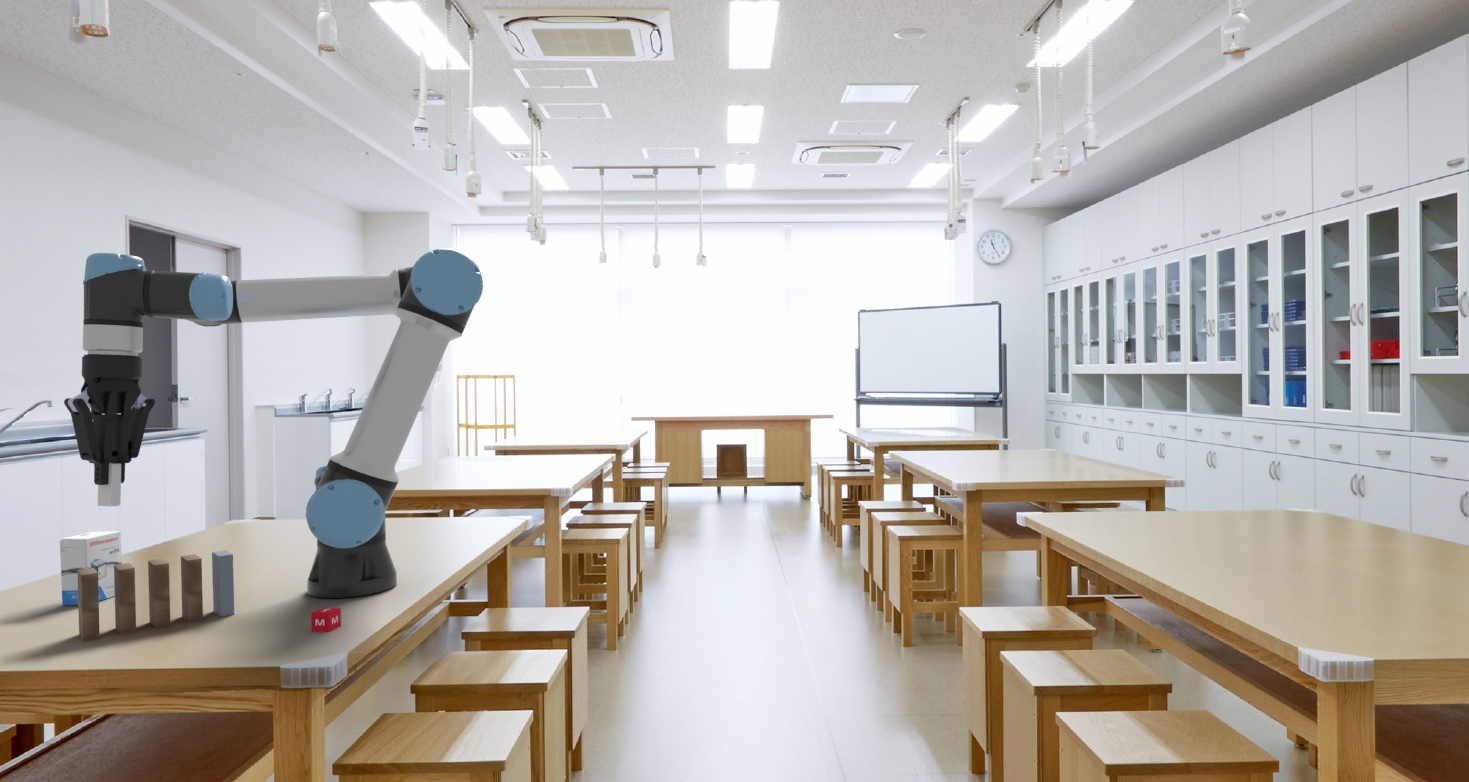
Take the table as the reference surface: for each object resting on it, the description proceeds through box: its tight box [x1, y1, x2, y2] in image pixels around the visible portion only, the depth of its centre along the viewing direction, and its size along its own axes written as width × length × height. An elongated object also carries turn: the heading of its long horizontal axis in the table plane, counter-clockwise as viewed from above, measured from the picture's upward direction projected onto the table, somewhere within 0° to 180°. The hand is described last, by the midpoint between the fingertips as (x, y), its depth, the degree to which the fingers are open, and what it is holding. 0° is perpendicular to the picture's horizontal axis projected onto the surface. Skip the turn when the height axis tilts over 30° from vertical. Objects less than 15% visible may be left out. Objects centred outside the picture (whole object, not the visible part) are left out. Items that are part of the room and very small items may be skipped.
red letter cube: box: [310, 606, 342, 633], centre depth 130 cm, size 3×3×3 cm
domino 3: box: [180, 554, 204, 623], centre depth 137 cm, size 2×5×10 cm, turn 43°
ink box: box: [59, 530, 123, 606], centre depth 151 cm, size 9×5×12 cm, turn 178°
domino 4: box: [211, 549, 235, 617], centre depth 140 cm, size 2×5×10 cm, turn 44°
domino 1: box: [114, 562, 137, 635], centre depth 131 cm, size 2×5×10 cm, turn 43°
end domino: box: [77, 568, 101, 642], centre depth 128 cm, size 2×5×10 cm, turn 43°
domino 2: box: [147, 558, 171, 629], centre depth 134 cm, size 2×5×10 cm, turn 43°
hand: (108, 505), depth 130 cm, fingers closed
